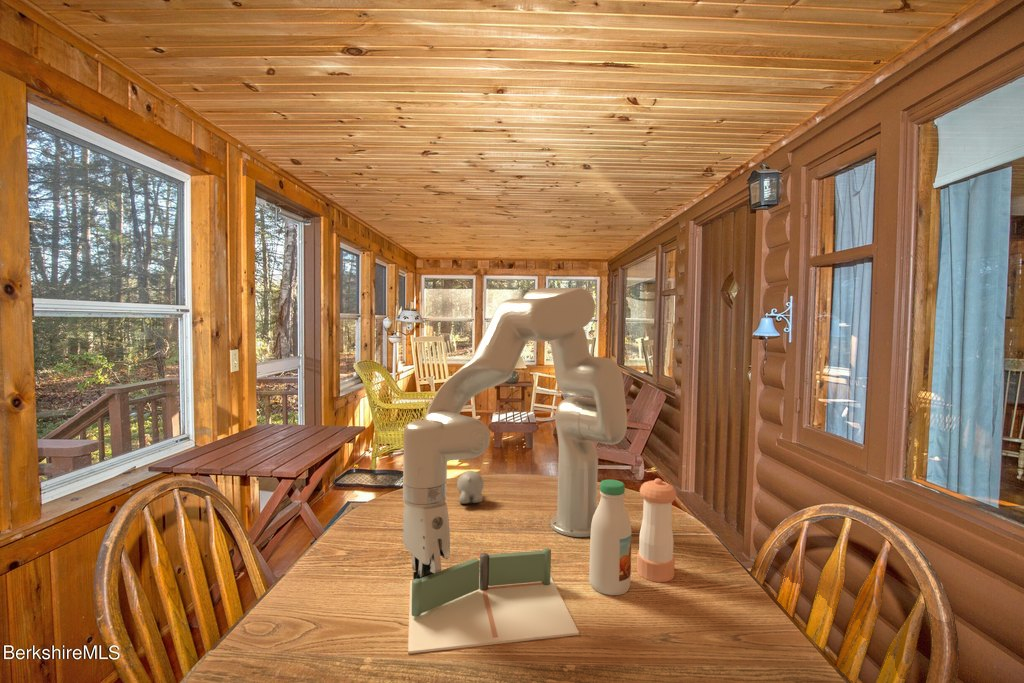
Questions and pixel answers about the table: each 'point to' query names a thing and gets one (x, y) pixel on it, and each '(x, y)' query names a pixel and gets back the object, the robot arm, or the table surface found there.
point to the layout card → (492, 618)
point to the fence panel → (444, 586)
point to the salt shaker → (656, 532)
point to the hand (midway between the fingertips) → (423, 593)
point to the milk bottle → (610, 541)
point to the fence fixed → (515, 568)
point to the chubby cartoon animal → (470, 487)
